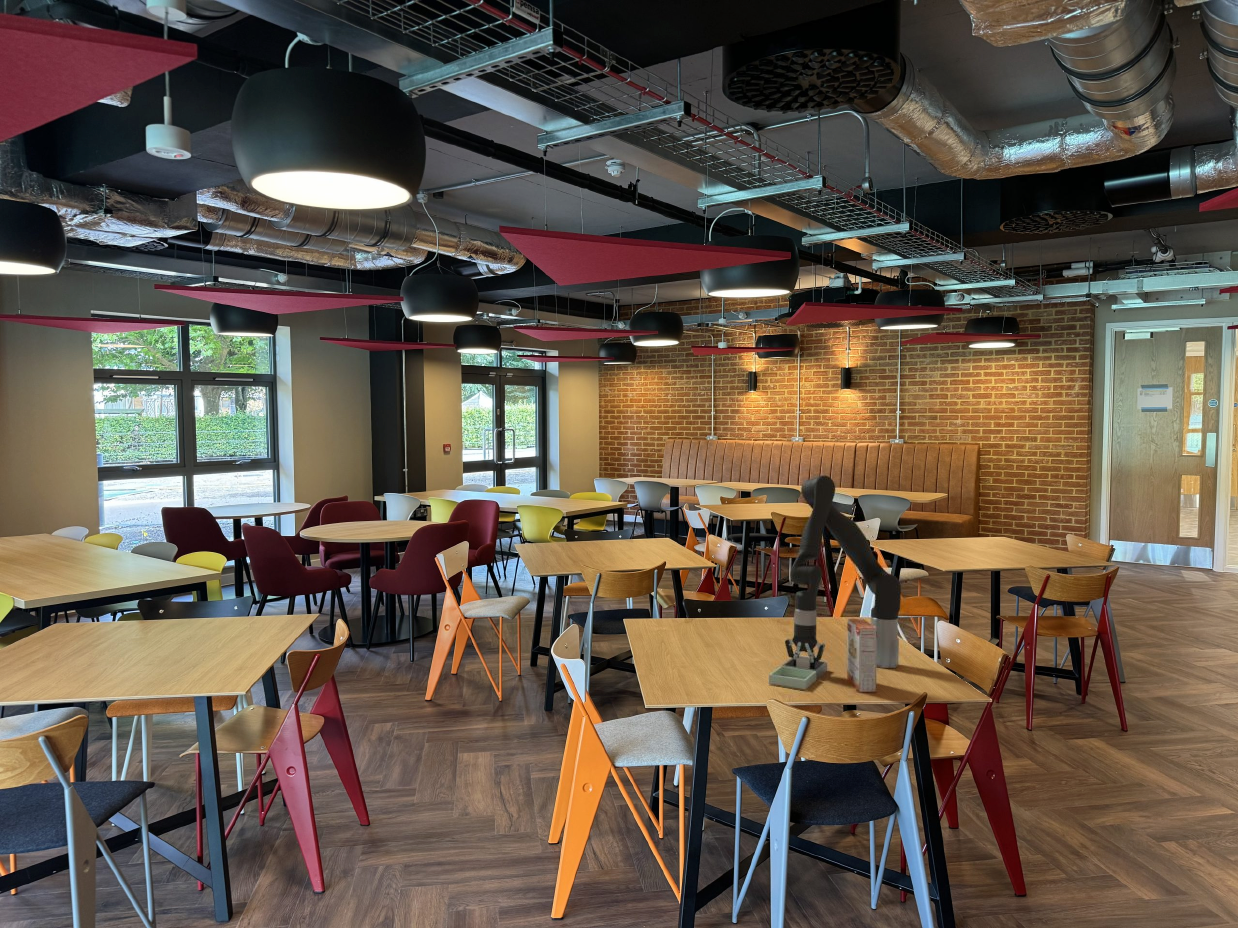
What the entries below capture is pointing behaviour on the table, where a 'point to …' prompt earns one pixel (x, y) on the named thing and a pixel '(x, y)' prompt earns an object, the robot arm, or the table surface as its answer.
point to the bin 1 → (792, 678)
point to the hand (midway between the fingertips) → (804, 671)
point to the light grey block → (803, 662)
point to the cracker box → (861, 654)
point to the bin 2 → (819, 668)
